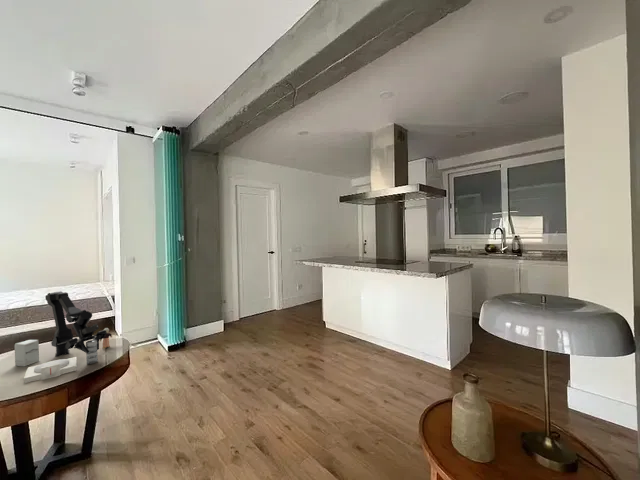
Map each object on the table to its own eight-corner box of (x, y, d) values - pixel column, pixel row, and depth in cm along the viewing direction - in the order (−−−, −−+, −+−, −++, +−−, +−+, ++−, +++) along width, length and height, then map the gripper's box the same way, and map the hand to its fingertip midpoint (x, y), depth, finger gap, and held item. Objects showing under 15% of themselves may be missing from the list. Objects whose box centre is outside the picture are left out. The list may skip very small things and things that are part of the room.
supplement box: (24, 366, 162) (23, 344, 162) (14, 365, 163) (13, 343, 163) (39, 361, 169) (39, 339, 169) (30, 360, 170) (29, 339, 170)
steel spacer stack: (86, 361, 165) (85, 341, 165) (97, 359, 168) (96, 339, 168) (86, 364, 161) (85, 343, 161) (97, 362, 164) (97, 341, 164)
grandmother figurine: (103, 349, 184) (103, 330, 184) (98, 349, 185) (98, 329, 185) (114, 345, 192) (113, 326, 192) (109, 344, 192) (108, 326, 192)
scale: (28, 371, 155) (27, 361, 155) (76, 360, 168) (76, 350, 168) (23, 384, 141) (22, 372, 141) (76, 371, 154) (75, 360, 154)
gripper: (67, 325, 158) (78, 348, 153) (104, 316, 174) (116, 337, 170) (60, 337, 161) (71, 360, 157) (97, 327, 178) (108, 348, 173)
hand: (93, 351), depth 164 cm, fingers closed on steel spacer stack, 5 cm apart
